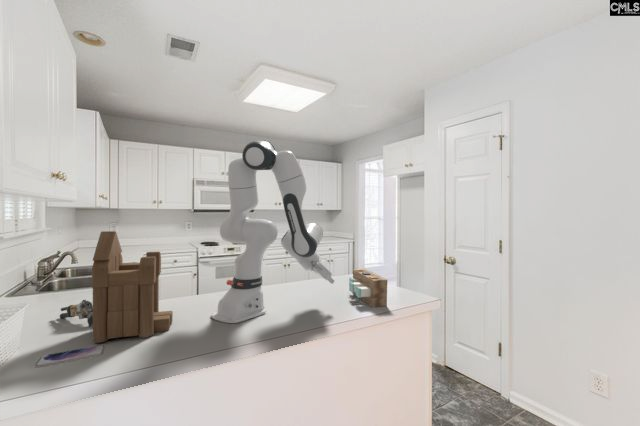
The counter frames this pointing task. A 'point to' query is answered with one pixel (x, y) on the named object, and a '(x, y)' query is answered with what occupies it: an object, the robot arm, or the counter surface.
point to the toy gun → (80, 311)
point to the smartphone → (69, 356)
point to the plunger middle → (353, 286)
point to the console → (373, 287)
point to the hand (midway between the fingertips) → (332, 282)
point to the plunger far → (353, 280)
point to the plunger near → (363, 291)
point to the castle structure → (125, 293)
